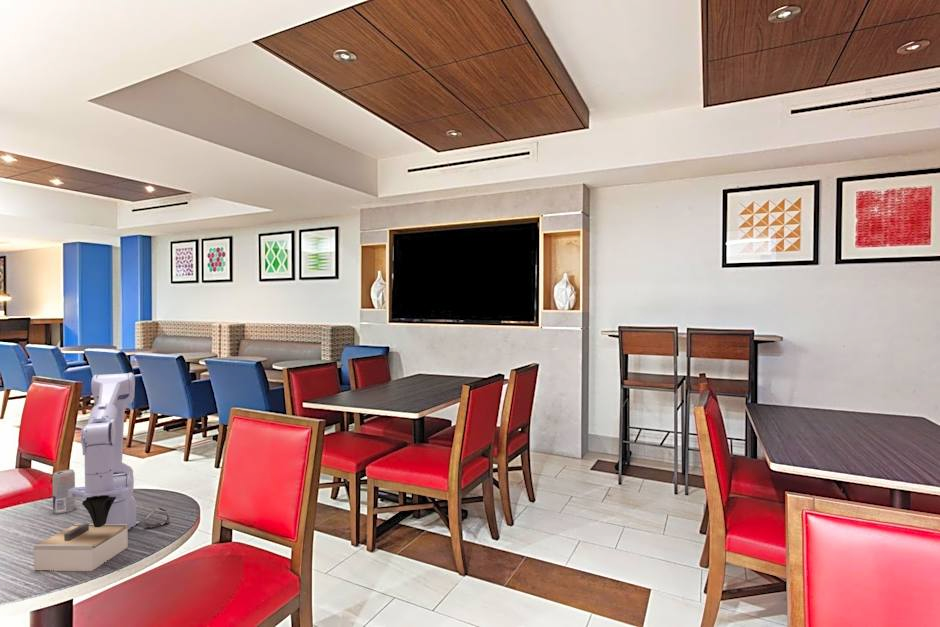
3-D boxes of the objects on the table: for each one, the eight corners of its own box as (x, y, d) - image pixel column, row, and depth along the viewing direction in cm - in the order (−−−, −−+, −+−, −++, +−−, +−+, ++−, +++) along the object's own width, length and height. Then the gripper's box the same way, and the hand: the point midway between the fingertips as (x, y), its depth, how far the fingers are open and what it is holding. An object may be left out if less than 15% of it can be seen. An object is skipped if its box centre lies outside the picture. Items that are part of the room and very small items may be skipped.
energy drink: (64, 506, 158) (64, 468, 158) (79, 507, 158) (79, 469, 158) (48, 513, 153) (47, 474, 153) (63, 514, 152) (63, 475, 152)
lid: (72, 528, 131) (72, 519, 131) (124, 528, 130) (124, 520, 130) (37, 546, 120) (37, 537, 120) (94, 547, 120) (93, 538, 120)
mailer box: (75, 546, 132) (75, 523, 132) (127, 547, 131) (127, 524, 131) (34, 570, 120) (33, 545, 120) (91, 571, 119) (91, 546, 119)
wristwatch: (170, 524, 145) (170, 507, 145) (145, 531, 141) (145, 513, 141) (167, 520, 148) (167, 503, 148) (142, 527, 143) (142, 509, 143)
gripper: (57, 476, 121) (58, 532, 121) (115, 476, 121) (116, 532, 121) (80, 467, 128) (81, 520, 128) (136, 467, 128) (137, 520, 128)
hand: (100, 525), depth 125 cm, fingers closed
